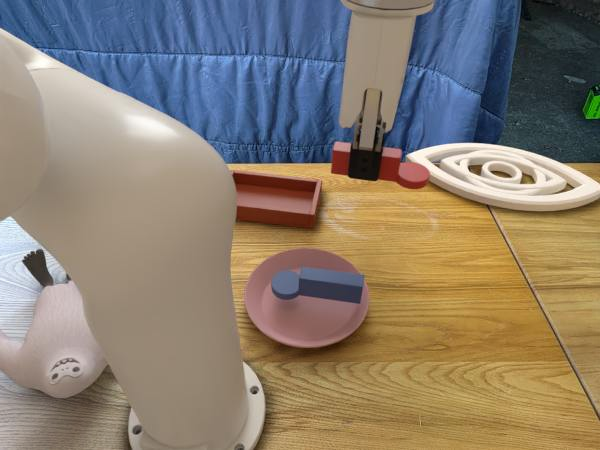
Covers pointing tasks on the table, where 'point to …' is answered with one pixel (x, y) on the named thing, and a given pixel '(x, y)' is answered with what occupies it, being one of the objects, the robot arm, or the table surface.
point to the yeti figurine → (53, 340)
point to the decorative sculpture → (506, 190)
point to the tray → (277, 198)
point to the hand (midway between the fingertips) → (364, 170)
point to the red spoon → (384, 167)
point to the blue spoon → (318, 285)
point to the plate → (302, 302)
